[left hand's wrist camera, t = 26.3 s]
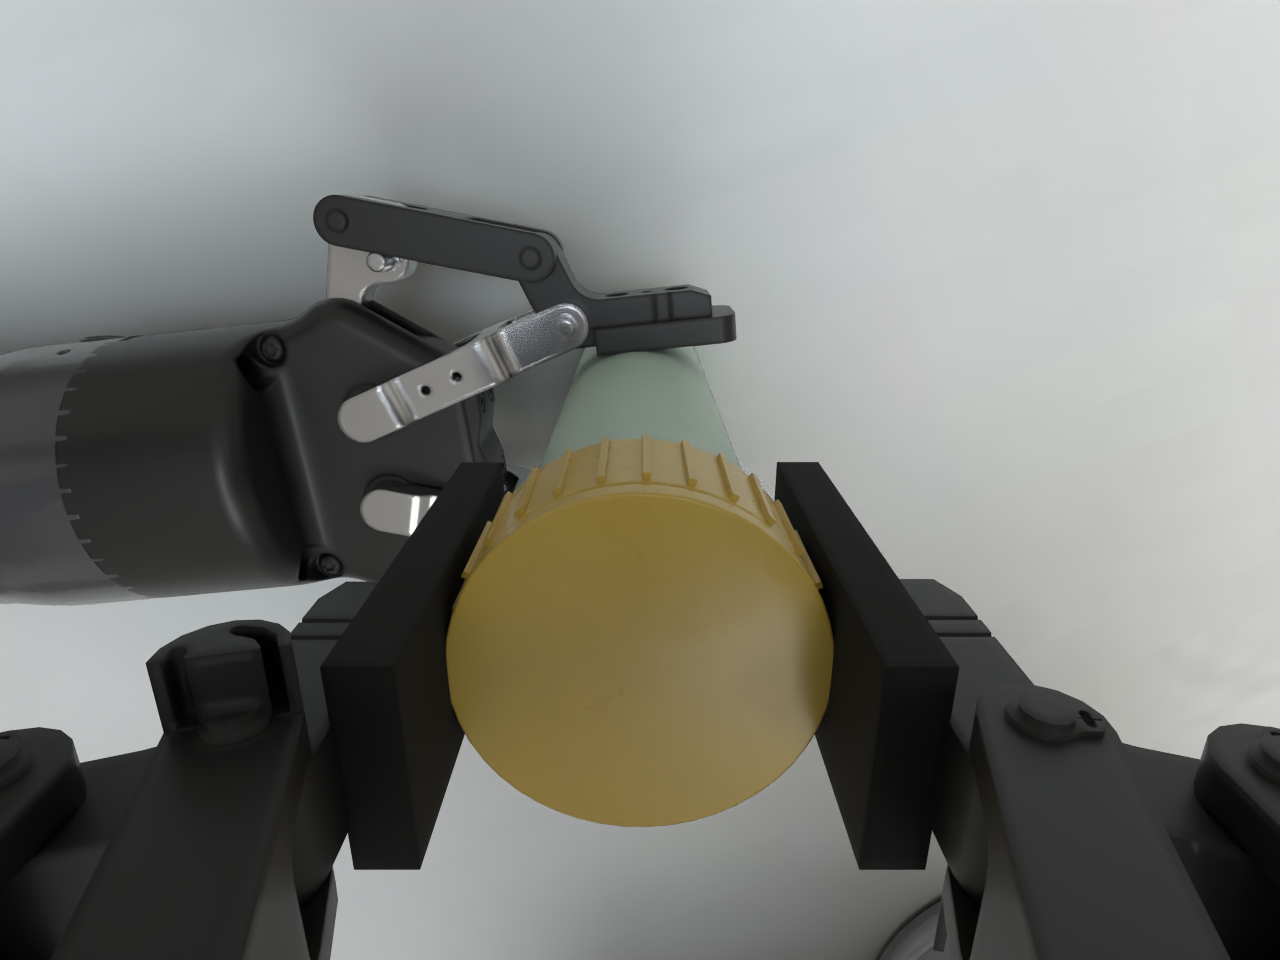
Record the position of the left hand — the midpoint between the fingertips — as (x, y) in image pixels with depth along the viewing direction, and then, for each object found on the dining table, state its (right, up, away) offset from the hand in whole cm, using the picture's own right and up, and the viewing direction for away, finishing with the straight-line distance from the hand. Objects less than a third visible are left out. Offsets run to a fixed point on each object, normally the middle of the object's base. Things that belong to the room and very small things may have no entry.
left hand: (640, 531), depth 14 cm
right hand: (+3, +3, +7) cm, 8 cm away
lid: (0, -1, -4) cm, 4 cm away
